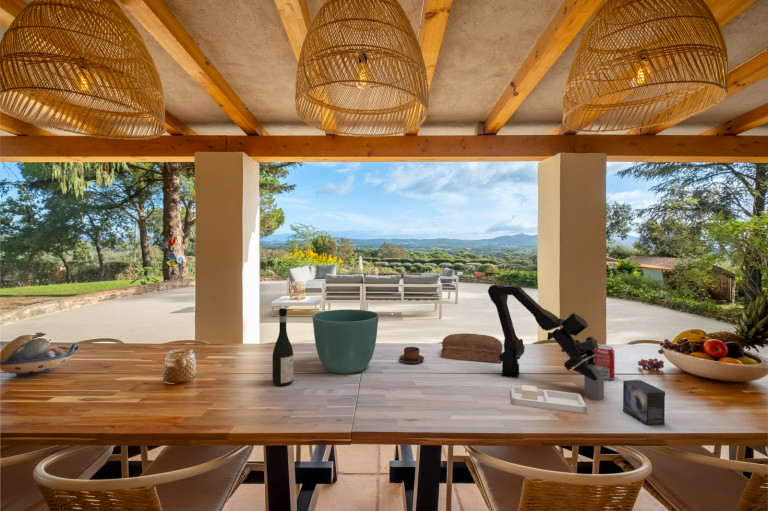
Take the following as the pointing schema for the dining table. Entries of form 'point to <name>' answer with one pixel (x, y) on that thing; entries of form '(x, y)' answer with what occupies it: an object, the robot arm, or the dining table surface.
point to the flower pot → (345, 339)
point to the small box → (644, 402)
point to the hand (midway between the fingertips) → (598, 378)
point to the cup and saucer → (411, 355)
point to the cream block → (529, 392)
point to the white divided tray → (551, 400)
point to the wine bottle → (282, 355)
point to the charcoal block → (595, 383)
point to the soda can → (606, 361)
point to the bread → (472, 347)
